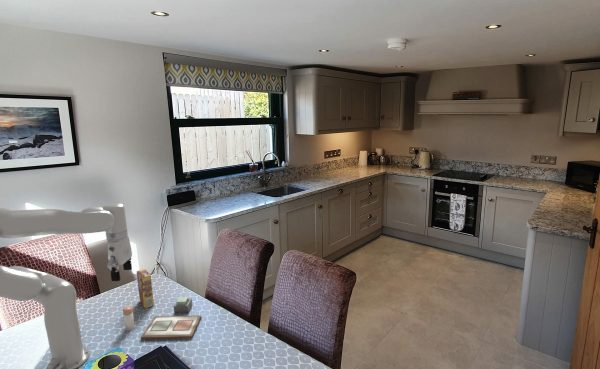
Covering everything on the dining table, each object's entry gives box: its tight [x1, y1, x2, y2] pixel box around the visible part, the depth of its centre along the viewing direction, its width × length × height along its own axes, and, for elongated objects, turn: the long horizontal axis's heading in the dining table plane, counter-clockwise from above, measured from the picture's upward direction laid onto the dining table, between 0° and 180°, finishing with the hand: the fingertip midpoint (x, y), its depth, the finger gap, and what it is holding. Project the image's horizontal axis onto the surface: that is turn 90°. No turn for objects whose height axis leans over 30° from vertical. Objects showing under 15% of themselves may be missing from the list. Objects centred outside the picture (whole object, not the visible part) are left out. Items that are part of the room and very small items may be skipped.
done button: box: [176, 296, 189, 305], centre depth 156 cm, size 4×4×2 cm
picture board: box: [140, 314, 202, 341], centre depth 143 cm, size 14×20×1 cm
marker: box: [122, 305, 136, 332], centre depth 144 cm, size 4×4×9 cm
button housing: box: [173, 297, 193, 314], centre depth 157 cm, size 6×6×4 cm
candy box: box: [136, 268, 155, 309], centre depth 162 cm, size 9×4×15 cm, turn 39°
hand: (122, 275), depth 141 cm, fingers open, 9 cm apart
